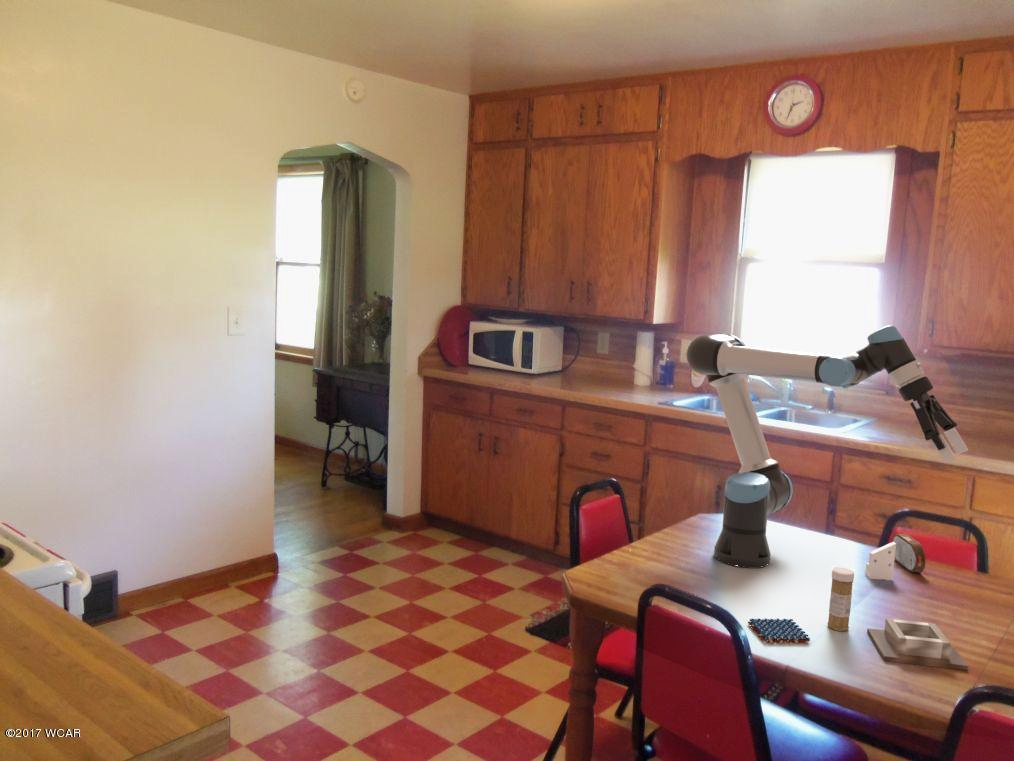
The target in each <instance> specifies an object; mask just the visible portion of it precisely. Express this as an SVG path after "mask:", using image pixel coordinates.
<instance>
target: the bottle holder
mask: <svg viewBox="0 0 1014 761" xmlns="http://www.w3.org/2000/svg"><path fill="white" fill-rule="evenodd" d="M866 629H867V631H866V633H867V635H868V637H869V638H870V639H871V642H872V643H873V645H874V647H875V648H876V650H877V651H878V653H879V655H880V657H881V658H882V661H884V662H891V663H900V664H908V665H918V666H926V667H935V668H943V669H952V670H962V671H968V669H969V665H968V664H967V663H966V661H965V660H964V659H963V657H962V656H961V655H960V653H958V651H957V650H956V649H955V648H954V646H953V644H951V643H952V642H950V641H949V640H948V638H947V637H946V635H945V634H944V633H943V632H942V631H941V629H940V628H939V627H938V626H937V624H936V623H933V622H923V621H922V622H921V621H915V620H914V621H913V620H903V619H894V618H885V623H884V629H879V628H878V629H877V628H866Z"/></svg>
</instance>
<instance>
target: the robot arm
mask: <svg viewBox="0 0 1014 761" xmlns="http://www.w3.org/2000/svg"><path fill="white" fill-rule="evenodd" d="M866 339H867V341H868V344H867V345H866V346H864V347H862V348H861V349H858V350H857V351H855V352H853V353H851V354H844V355H843V354H842V355H835V354H823V353H814V352H813V353H812V352H802V351H794V350H793V351H792V350H781V349H771V348H763V347H762V348H761V347H753V346H752V347H751V346H750V347H749V346H746V344H745V343H744V341H742V339H741V338H739V337H737V336H735V335H733V334H729V333H723V332H722V333H717V334H704V335H700V336H697V337H696V338H694V339H693V340H692V341H691V342H690V343H689V345H688V347H687V349H686V354H685V355H686V361H687V363H688V365H689V368H691V369H692V371H694V372H695V373H697V374H700V375H703V376H706V379H707V381H708V385H709V386H712V387H714V388H715V389H716V392H717V394H718V399H719V400H720V401H719V402H720V404H721V408H722V410H723V414H724V416H725V419H726V422H727V425H728V429H729V431H730V435H731V437H732V438H731V439H732V442H733V444H734V447H735V450H736V454H737V455H738V459H739V461H740V464H741V466H740V469H739V471H738V472H737V473H733V474H731V475H730V476H728V477H727V479H726V481H725V482H726V483H725V487H724V500H723V518H722V529H721V531H720V534H719V536H718V538H717V541H716V543H715V545H714V548H713V557H714V556H715V557H716V558H717V559H719V560H720V561H719V560H718V561H719V562H721V561H723V562H725V563H724V564H726V563H729V564H732V565H731V566H733V565H738V566H744V567H743V568H747V567H758V568H762V567H761V566H764V567H766V566H765V565H767V564H769V563H771V551H770V547H769V543H768V539H767V535H766V534H767V523H768V517H769V516H770V515H771V514H773V513H777V512H780V511H781V510H782V509H784V508H785V507H786V506H787V505H788V504H789V503H790V501H791V499H792V497H793V493H794V492H793V491H794V488H793V484H792V481H791V479H790V478H789V476H788V475H787V474H786V473H784V472H783V471H782V470H781V466H780V464H779V461H777V460H775V459H773V458H772V457H771V454H770V452H769V448H768V444H767V442H766V439H765V436H764V433H763V429H762V427H761V424H760V421H759V418H758V415H757V411H756V408H755V406H754V403H753V401H752V397H751V393H750V391H749V388H748V385H747V382H746V377H747V375H748V376H755V377H766V378H774V379H782V380H793V381H799V382H809V383H819V384H824V385H827V386H830V387H838V388H839V387H841V388H843V389H849V388H852V387H854V386H857V385H858V384H859V383H862V382H863V381H865V380H867V379H869V378H871V377H872V376H874V375H876V374H878V373H879V372H882V371H884V370H885V371H886V373H887V374H888V376H889V378H890V380H891V381H892V383H893V384H894V386H895V387H896V388H898V393H899V394H900V396H901V397H902V399H903V400H904V402H910V401H911V400H913V402H910V403H909V404H910V407H911V408H912V410H913V411H914V414H915V416H916V419H917V421H918V423H919V426H920V427H921V430H922V433H923V435H924V438H925V440H926V441H931V443H932V445H933V446H934V448H935V449H936V452H937V453H938V455H939V456H940V458H941V460H942V461H943V463H944V464H947V463H949V462H951V461H955V460H956V459H957V457H956V455H955V453H956V454H957V456H959V455H961V454H964V453H965V452H968V451H969V449H968V447H967V445H966V443H965V441H964V440H963V438H962V437H961V435H960V433H959V432H958V430H957V428H956V427H957V426H958V424H957V422H956V421H954V420H953V419H952V417H951V416H950V415H949V413H948V412H947V411H946V410H945V408H944V407H943V406H942V405H941V404H940V403H939V401H938V400H937V398H936V397H935V394H933V393H932V394H930V395H929V393H928V392H930V391H931V390H933V389H934V386H933V384H932V382H931V381H930V380H929V377H928V376H924V374H925V371H924V370H923V368H922V366H923V365H922V363H921V362H918V360H917V358H916V357H915V355H914V354H913V352H912V350H911V348H910V347H909V345H908V343H907V342H906V339H905V337H903V335H902V334H901V333H900V331H899V330H898V328H897V327H896V326H895V325H893V324H891V325H886V326H884V327H881V328H879V329H877V330H876V331H873V333H871V334H870V335H868V336H867V338H866ZM937 424H938V425H937ZM938 426H940V427H941V428H942V430H943V431H944V432H943V434H944V435H945V437H946V438H947V440H948V441H949V443H950V445H951V446H952V448H953V450H954V451H955V453H954V452H953V451H952V449H951V447H950V445H949V444H948V443H947V441H946V439H945V437H944V436H943V434H940V431H939V428H938ZM715 557H714V558H715ZM716 558H715V559H716ZM717 559H716V560H717ZM723 562H722V563H723ZM729 564H728V565H729ZM769 565H770V564H769ZM738 566H737V567H738ZM767 566H768V565H767Z"/></svg>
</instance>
